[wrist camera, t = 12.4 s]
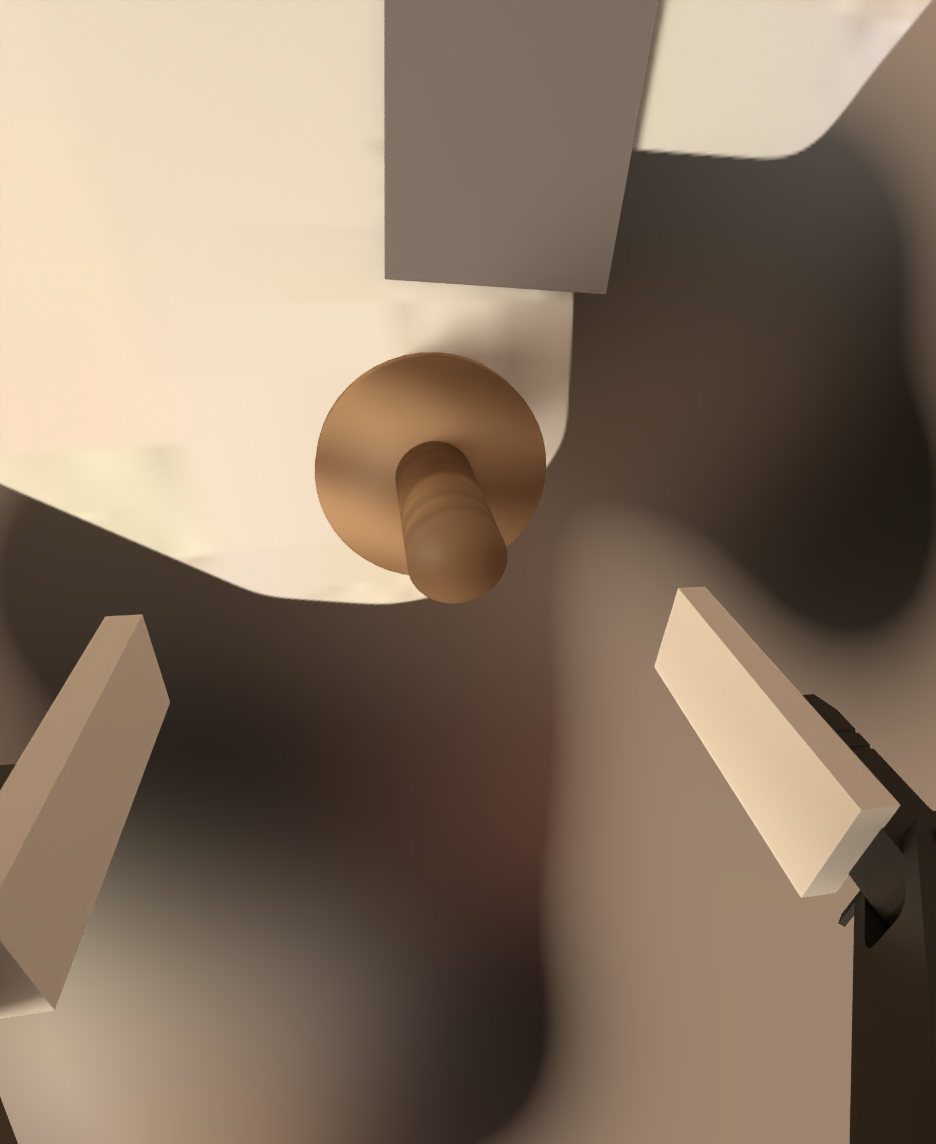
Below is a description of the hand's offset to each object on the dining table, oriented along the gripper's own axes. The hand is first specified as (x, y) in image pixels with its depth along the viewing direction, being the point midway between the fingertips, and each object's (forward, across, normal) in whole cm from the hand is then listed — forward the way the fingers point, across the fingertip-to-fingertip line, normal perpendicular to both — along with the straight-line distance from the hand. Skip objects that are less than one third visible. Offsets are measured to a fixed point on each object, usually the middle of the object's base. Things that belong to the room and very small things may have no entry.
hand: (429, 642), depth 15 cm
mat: (+31, +8, +12) cm, 34 cm away
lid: (+18, +2, -3) cm, 18 cm away
